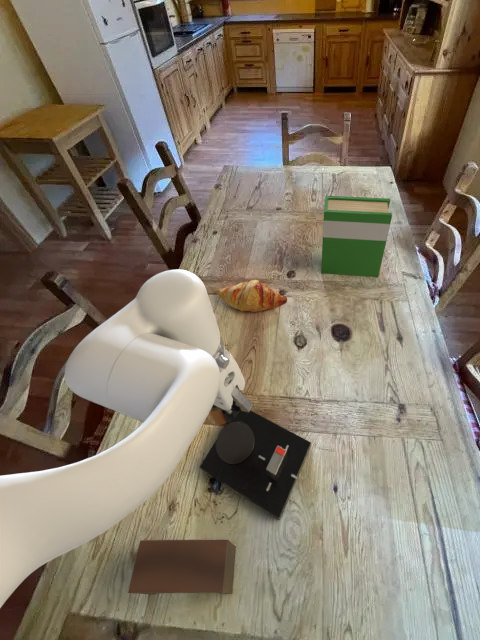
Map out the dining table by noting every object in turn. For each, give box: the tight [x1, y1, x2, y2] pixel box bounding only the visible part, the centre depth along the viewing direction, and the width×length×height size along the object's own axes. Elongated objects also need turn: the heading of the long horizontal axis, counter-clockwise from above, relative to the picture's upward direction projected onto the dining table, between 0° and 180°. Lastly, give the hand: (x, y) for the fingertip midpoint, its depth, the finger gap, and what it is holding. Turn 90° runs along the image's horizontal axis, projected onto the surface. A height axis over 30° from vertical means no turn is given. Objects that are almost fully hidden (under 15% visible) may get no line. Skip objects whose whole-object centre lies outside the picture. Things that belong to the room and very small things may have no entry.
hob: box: [199, 409, 312, 521], centre depth 70 cm, size 14×18×3 cm
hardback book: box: [320, 195, 393, 278], centre depth 100 cm, size 18×7×24 cm, turn 83°
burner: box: [215, 422, 255, 464], centre depth 70 cm, size 8×8×1 cm
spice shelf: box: [127, 538, 237, 595], centre depth 55 cm, size 6×14×10 cm, turn 90°
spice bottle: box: [207, 404, 226, 426], centre depth 56 cm, size 5×5×7 cm
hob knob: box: [266, 446, 288, 481], centre depth 65 cm, size 4×2×5 cm, turn 153°
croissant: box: [216, 279, 288, 313], centre depth 98 cm, size 21×10×8 cm, turn 80°
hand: (218, 405), depth 57 cm, fingers closed on spice bottle, 4 cm apart
